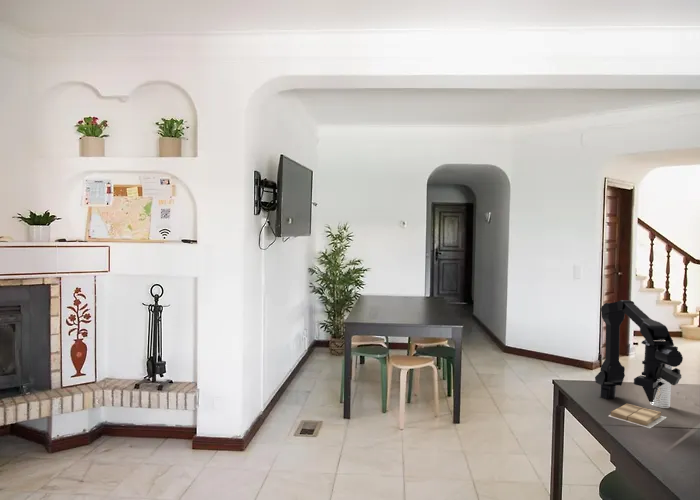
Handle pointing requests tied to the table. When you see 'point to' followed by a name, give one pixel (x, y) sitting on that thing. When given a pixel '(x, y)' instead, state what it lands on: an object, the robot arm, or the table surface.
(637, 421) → the raised plank
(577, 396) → the table surface
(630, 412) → the laid plank
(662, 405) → the water bottle
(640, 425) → the board
